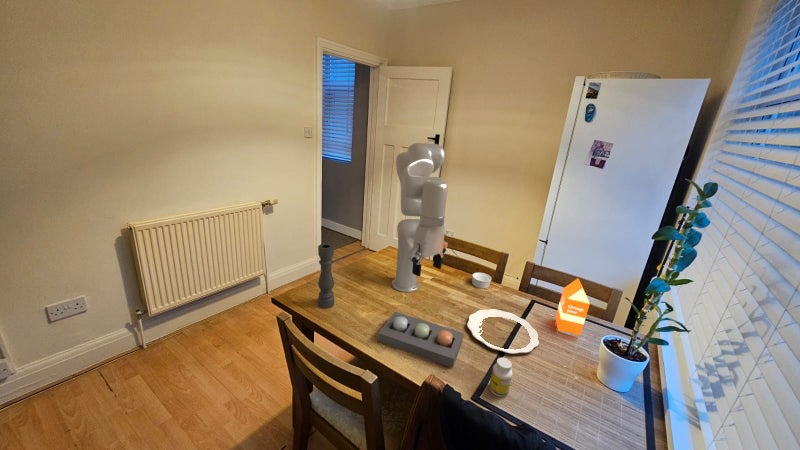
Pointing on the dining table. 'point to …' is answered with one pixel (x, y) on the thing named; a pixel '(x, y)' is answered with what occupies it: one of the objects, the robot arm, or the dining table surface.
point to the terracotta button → (444, 338)
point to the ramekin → (481, 280)
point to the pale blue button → (400, 324)
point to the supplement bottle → (501, 377)
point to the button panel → (421, 340)
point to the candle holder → (326, 276)
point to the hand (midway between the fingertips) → (426, 271)
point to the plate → (482, 314)
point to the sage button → (422, 331)
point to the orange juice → (572, 308)
